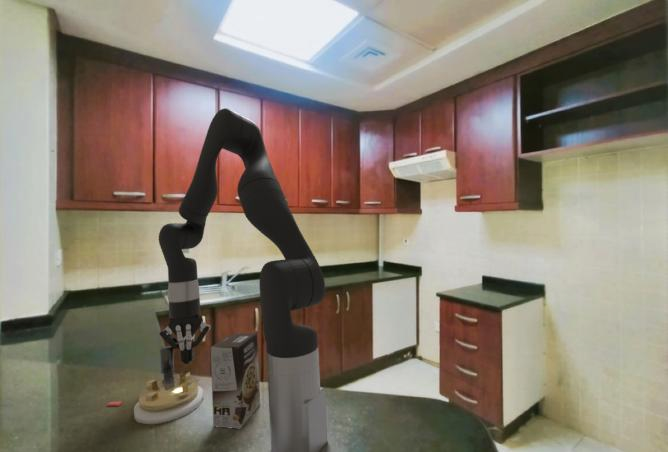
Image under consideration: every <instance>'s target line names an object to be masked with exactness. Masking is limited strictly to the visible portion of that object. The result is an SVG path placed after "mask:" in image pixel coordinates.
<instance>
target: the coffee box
mask: <svg viewBox="0 0 668 452" xmlns="http://www.w3.org/2000/svg"><path fill="white" fill-rule="evenodd" d="M258 348H259V347H258V333H257V332H253V333H252V332H244V333H243V332H242V333H231V334H230V335H228V336H227V337H224V338H223V339H222V340H219V341H218V342H216V343H215V344H213V345H212V346H210V362H211V363H210V364H211V365H210V366H211V371H210V372H211V390H212V391H211V394H212V396H211V397H212V427H214V428H216V427H215V426H218V427H217V428H221V427H232V428H241V429H242V428H243V427H244V426H245V424H246V423H247V422H248V421H249V419H251V417H252V416H253V415H254V413H255V412H256V411H257V409H258V408H259V407H260V406H261V393H260V391H261V390H260V388H261V387H260V372H259V370H260V368H259V349H258ZM243 425H244V426H243ZM242 426H243V427H242ZM232 428H231V429H232Z"/></svg>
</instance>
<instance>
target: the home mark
mask: <svg viewBox="0 0 668 452" xmlns="http://www.w3.org/2000/svg"><path fill="white" fill-rule="evenodd" d="M123 404H124V401H110V402H108V403H107V404H106V405H107V407H120V406H121V405H123Z"/></svg>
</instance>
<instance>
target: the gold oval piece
mask: <svg viewBox="0 0 668 452" xmlns="http://www.w3.org/2000/svg"><path fill="white" fill-rule="evenodd" d="M159 350H160V351H159V355H160V373H161V374H162V375H163V379H161V380H158V379H153V378H151V379H150V380H148V381H146V382H145V388H143V389H142V390H141V392H140V393H139V395H138V402H139V407H140V408H141V409H142V410H144V411H148V412H156V411H164V410H168V409H172V408H175V407H178V406H180V405H182V404H184V403H186V402H188V401H190V400H191V399H193V398H194V397H195V396H196V395H197V393H198V386H199V381H198V379H197V378H196V377H194V376H191V371H187V370H184V371H182V372H181V373H180V374H179V376H174V371H175V363H174V362H175V361H174V359H175V357H174V349H173V348H172V347H171V346H170V345H166V346H163V347H160V348H159Z"/></svg>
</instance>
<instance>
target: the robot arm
mask: <svg viewBox="0 0 668 452" xmlns="http://www.w3.org/2000/svg"><path fill="white" fill-rule="evenodd" d="M222 150H224V151H227V152H230V153H233V154H235V155H237V156H239V157H240V160H241V161H242V163H243V166H244V171H243V173H241V176H240V178H239V181H238V183H237V189H236V190H237V195H238V198H239V202H240V205H241V207H242V211H243V213H244V216H245V217H246V219H247V221H248V222H249V223H250V224H251V225H252V226H253V227H254V228H255V229H256V230H258V231H259V233H260V234H262V235H263V236H265V237H266V238H267V239H269V240H270V242H272V243H273V244H274V245H275V246H276V247H277V249H279V251H280V252H281V254H282V256H283V258H284V259H277V260H271V261H267V262H266V263H265V264H264V265H262V268H261V270H260V274H259V296H260V297H259V298H260V304H261V306H260V307H261V315H262V316H261V317H262V327H263V329H262V330H263V334H264V335H263V336H264V339H265V344H266V365H267V368H266V369H267V383H268V384H267V391H268V407H269V408H268V409H269V411H268V413H269V430H270V449H271V452H320V451H321V450H322V449H323V447H324V446H325V445H326V443H327V442H328V439H329V438H328V423H327V407H326V405H327V403H326V389H325V387H322V386H321V379H320V378H321V377H320V375H321V374H320V358H319V357H320V356H319V339H318V338H319V337H318V333H317V330H316V328H313V327H311V326H309V325H305V324H297V323H294V322H293V320H292V319H293V318H292V315H291V314H292V313H291V312H292V311H296V310H300V309H306V308H309V307H313V306H316V305H318V304H320V303H321V302H322V300H323V299H324V296H325V295H326V294H325V293H326V283H325V278H324V277H325V276H324V274H323V271H322V269H321V266H320V265H319V262H318V260H317V258H316V255H314V253H313V251H312V249H311V248H310V246H309V245H308V244H309V243H308V242H307V241H306V239H305V237H304V235H303V234H302V232H301V230H300V227H299V226H298V224H297V222H296V219H295V218H294V216H293V212H292V211H291V209H290V206H289V204H288V201H287V198H286V196H285V194H284V191H283V189H282V186H281V184H280V182H279V180H278V178H277V176H276V174H275V171H274V169H273V166H272V164H271V161H270V158H269V156H268V153H267V150H266V146H265V142H264V138H263V135H262V132H261V130H260V127H259V126H258V124H256V123H255V122H254V121H253V120H251V119H249V118H247V117H246V116H243V115H241V114H239V113H238V112H236V111H235V110H232V109H230V108H221V109H220V110H218V111H217V112H216V113H215V115H214V116H213V117H212V119H211V122H210V123H209V126H208V129H207V132H206V135H205V139H204V142H203V144H202V147H201V150H200V154H199V158H198V161H197V165H196V169H195V171H194V174H193V177H192V180H191V183H190V185H189V187H188V189H187V192H186V193H185V195H184V197H183V199H182V202H181V203H180V206H179V207H178V214H179V216H180V217H181V218H182V219H184V221H185V222H183V223H181V222H180V223H176V222H175V223H172V222H171V223H170V222H169V223H166V224H164V225H163V226H162V227H161V228H160V231H159V233H158V244H159V247H160V249H161V252H162V255H163V258H164V260H165V264H166V267H167V279H168V285H167V288H168V289H167V300H168V314H169V315H168V317H169V320H168V323H167V326H166V327H165V328H164V329H162V330H161V331H160V332H159V336H160V337H161V338H162V339H163V340H164V341H165V342H166V343H167V344H168V346H171V347H172V348H173V350H176V349H177V350H179V351H180V360H181V363H183V365H190V364H191V363H192V362H193V360H194V359H195V351H194V350H195V349H194V348H196V347H198V346H199V345H200V343H201V342H202V341H203V339H204V338H205V337H206V335H207V333H208V332H209V331H210V330H211V328H212V325H211V323H208V324H207V323H206V322H204V320H203V317H202V315H201V314H202V313H201V300H200V299H201V298H200V286H199V280H198V266H197V265H198V264H197V261H196V260H195V258H192V257H186V256H185V254H184V251H183V250H188V249H189V250H190V249H194V248H197V247H198V246H199V244H200V243H201V242H202V240H203V238H204V235H205V234H204V233H205V227H206V221H207V218H208V216H209V213H210V212H211V210H212V208H213V206H214V205H215V202H216V199H217V197H218V191H219V190H218V181H217V180H218V179H217V162H218V160H217V159H218V157H219V155H220V153H221V151H222ZM198 330H199V331H200V334H199V335H198V337H197V338H196V339H195V337H196V333H197V331H198ZM176 337H177V338H176Z"/></svg>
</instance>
